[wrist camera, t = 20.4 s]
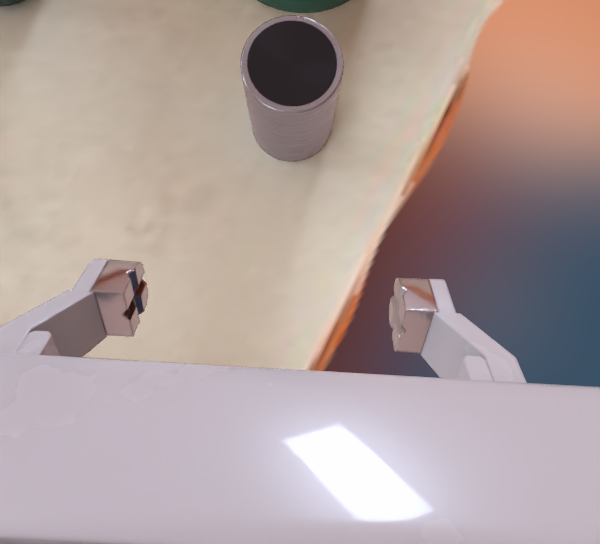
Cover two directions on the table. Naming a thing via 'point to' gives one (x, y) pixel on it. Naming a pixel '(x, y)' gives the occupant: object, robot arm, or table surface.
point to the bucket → (303, 5)
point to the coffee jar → (9, 2)
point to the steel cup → (291, 85)
